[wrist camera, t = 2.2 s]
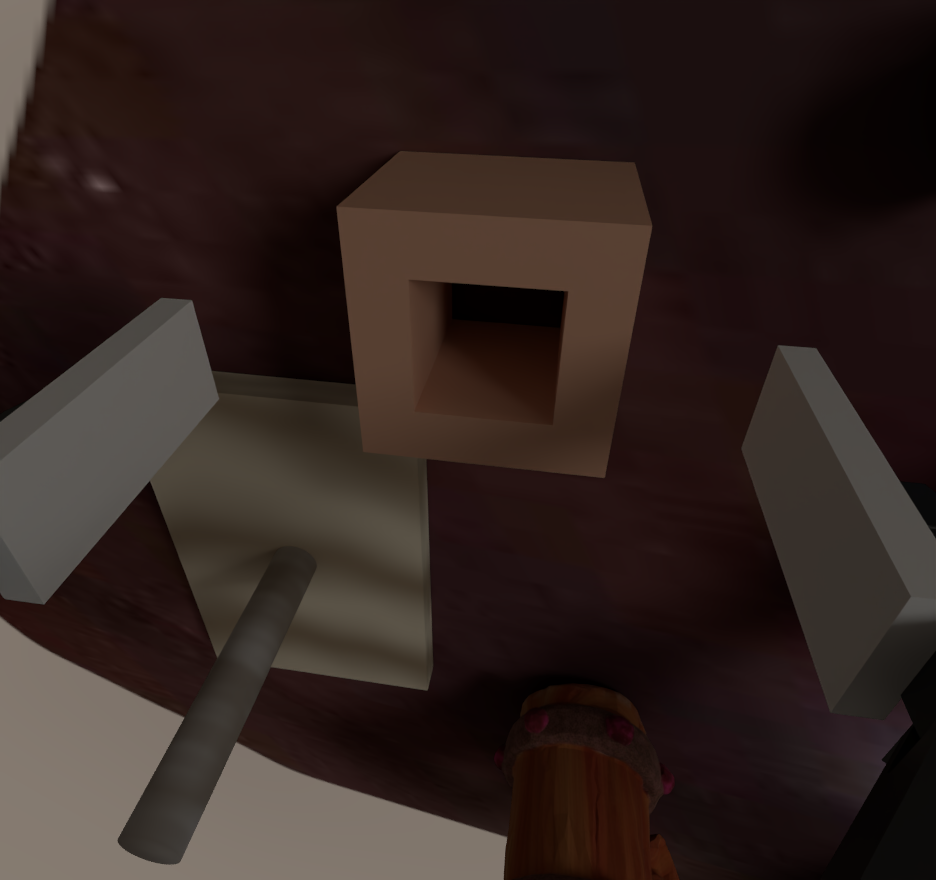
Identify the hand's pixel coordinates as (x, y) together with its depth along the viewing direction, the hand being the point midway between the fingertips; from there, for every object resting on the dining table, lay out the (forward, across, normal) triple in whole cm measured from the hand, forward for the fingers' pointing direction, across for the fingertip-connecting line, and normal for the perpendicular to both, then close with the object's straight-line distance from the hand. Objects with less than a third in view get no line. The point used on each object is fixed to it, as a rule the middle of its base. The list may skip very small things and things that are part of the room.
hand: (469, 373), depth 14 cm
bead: (+8, 0, 0) cm, 8 cm away
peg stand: (+7, +9, +14) cm, 18 cm away
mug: (+7, -7, +27) cm, 29 cm away
